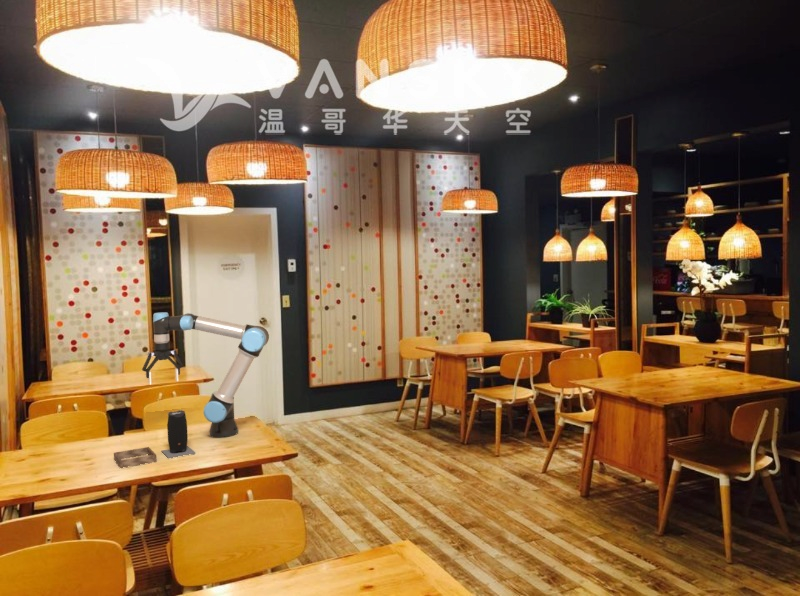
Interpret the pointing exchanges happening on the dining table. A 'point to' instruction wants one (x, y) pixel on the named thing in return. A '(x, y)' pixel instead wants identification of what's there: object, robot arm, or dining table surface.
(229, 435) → the robot arm
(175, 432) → the portable speaker
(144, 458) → the walnut collar
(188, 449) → the rubber mat
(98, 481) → the dining table surface
